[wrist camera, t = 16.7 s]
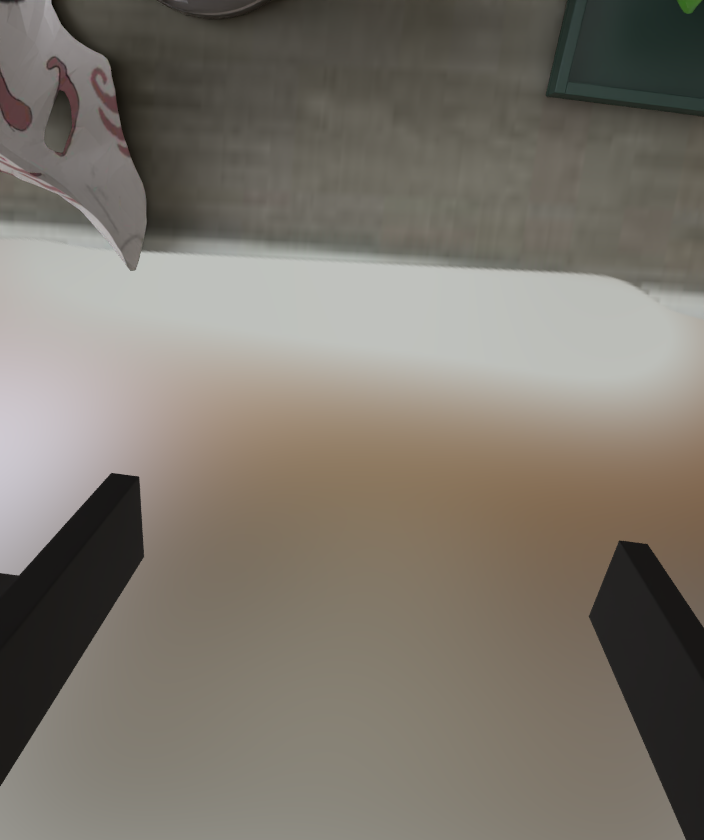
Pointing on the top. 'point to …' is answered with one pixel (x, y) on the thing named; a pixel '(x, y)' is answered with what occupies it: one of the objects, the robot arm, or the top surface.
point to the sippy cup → (688, 5)
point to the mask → (91, 124)
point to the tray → (631, 55)
